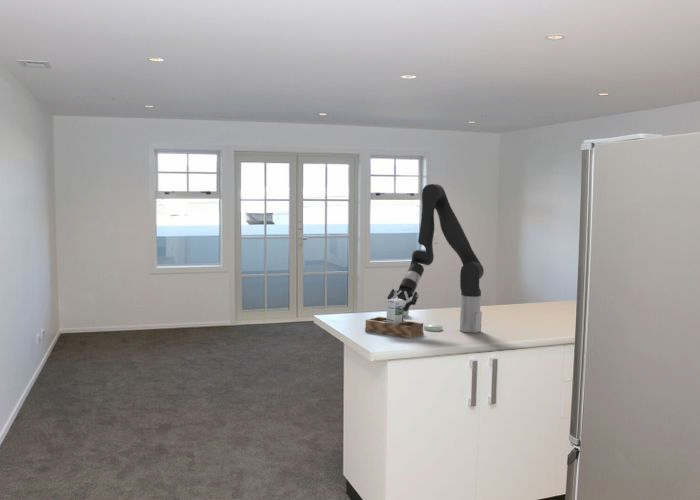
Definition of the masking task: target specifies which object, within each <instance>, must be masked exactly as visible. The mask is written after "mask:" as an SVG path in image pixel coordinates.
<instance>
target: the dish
mask: <svg viewBox="0 0 700 500" xmlns="http://www.w3.org/2000/svg"><path fill="white" fill-rule="evenodd" d="M443 327H444V326H443V325H441V324H437V323H426V324H423V331H428V332H441V331H443Z"/></svg>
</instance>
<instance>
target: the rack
mask: <svg viewBox="0 0 700 500" xmlns="http://www.w3.org/2000/svg"><path fill="white" fill-rule="evenodd" d="M364 332H366V333H367V332H368V333H373V334H374V333H375V334H380V335H386V336H392V337H396V338H402V339H412V338H415V337H419V336H422V335H424V322H418V321H412V320H405V319H403V322H402V323H399V324H393V323H387V316H386V317H385V316H377V317H373V318H367V319H365V328H364Z"/></svg>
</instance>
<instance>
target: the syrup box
mask: <svg viewBox="0 0 700 500" xmlns="http://www.w3.org/2000/svg"><path fill="white" fill-rule="evenodd" d="M386 318H387V323H393V324H399V323H402V322H403V320H404V300H402V299H397V298H396V299H386Z"/></svg>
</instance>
